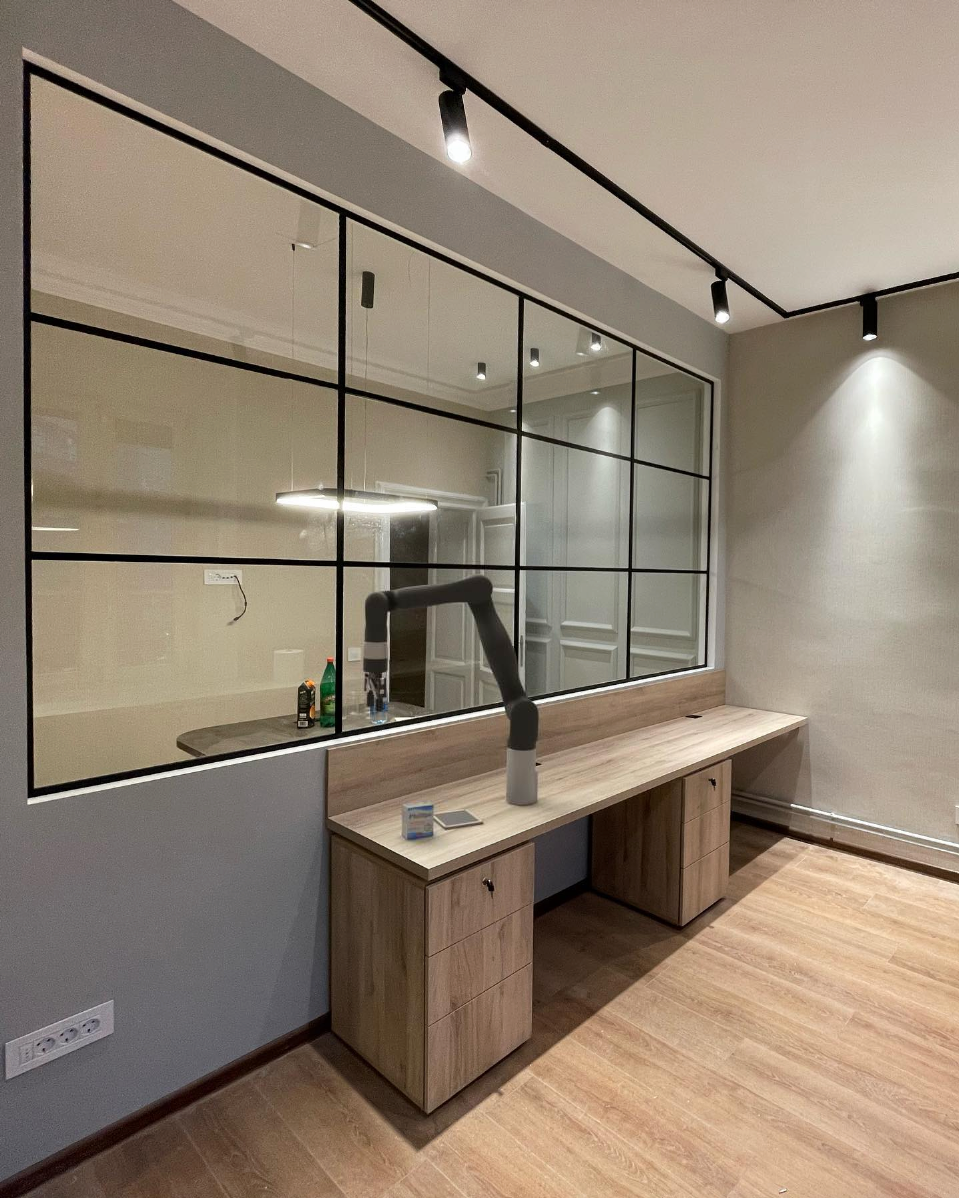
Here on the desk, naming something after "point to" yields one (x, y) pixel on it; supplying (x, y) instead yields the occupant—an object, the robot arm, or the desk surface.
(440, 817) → the mat
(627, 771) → the desk surface
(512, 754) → the robot arm
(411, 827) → the medicine box
